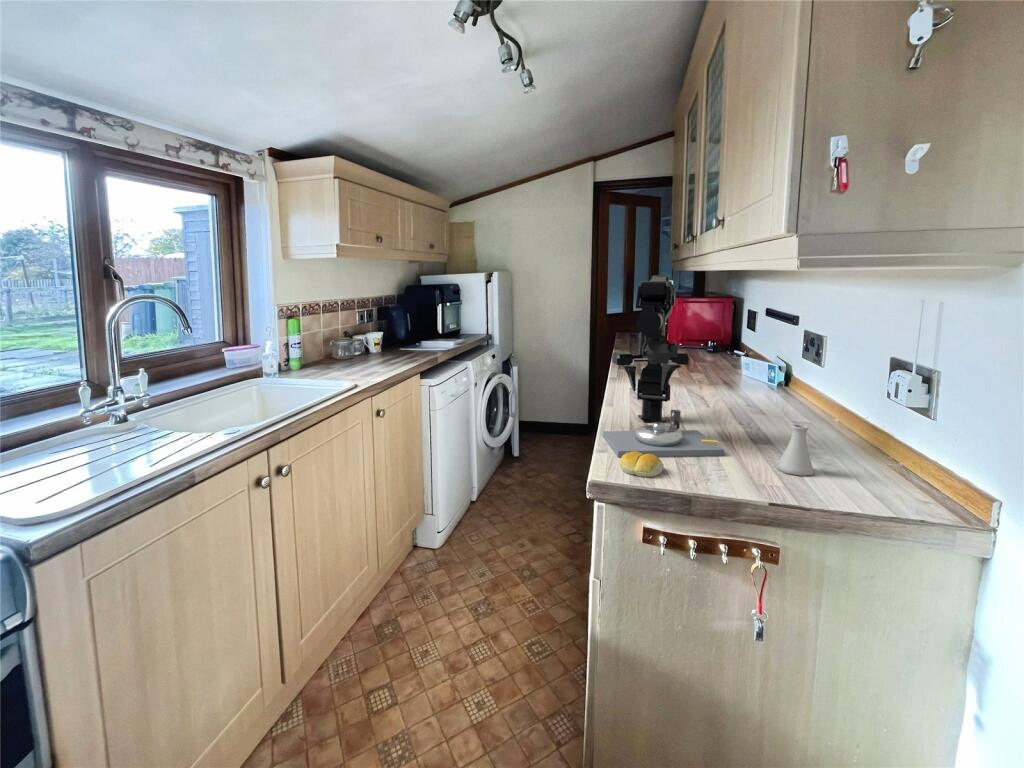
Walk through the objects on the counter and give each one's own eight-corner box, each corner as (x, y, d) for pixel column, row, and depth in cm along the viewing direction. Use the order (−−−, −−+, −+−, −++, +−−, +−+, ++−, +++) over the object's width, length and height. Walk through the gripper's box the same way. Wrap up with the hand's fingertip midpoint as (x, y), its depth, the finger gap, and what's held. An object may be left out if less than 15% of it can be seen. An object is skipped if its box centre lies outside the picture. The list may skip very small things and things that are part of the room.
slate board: (602, 436, 134) (603, 429, 133) (698, 435, 135) (698, 427, 135) (617, 457, 118) (618, 448, 118) (725, 455, 119) (726, 447, 119)
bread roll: (629, 461, 116) (630, 444, 116) (667, 470, 111) (668, 452, 110) (611, 471, 110) (612, 453, 109) (650, 481, 105) (651, 462, 104)
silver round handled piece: (669, 449, 119) (670, 426, 118) (627, 439, 126) (628, 418, 125) (697, 434, 130) (698, 413, 129) (657, 426, 137) (658, 406, 136)
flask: (819, 478, 106) (825, 431, 104) (781, 475, 107) (787, 429, 105) (807, 466, 113) (812, 422, 111) (771, 463, 114) (776, 420, 112)
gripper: (624, 334, 122) (621, 398, 125) (700, 334, 123) (696, 397, 126) (612, 330, 133) (610, 388, 136) (682, 329, 134) (679, 387, 137)
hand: (648, 390), depth 133 cm, fingers open, 7 cm apart
